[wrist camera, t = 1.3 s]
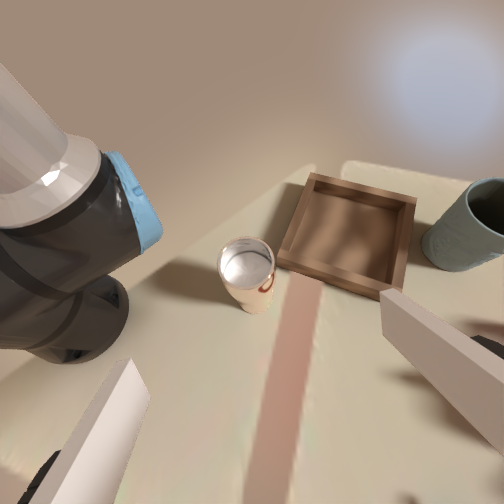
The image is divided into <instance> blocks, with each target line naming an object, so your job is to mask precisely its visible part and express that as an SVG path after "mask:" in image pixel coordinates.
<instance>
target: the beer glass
mask: <svg viewBox="0 0 504 504" xmlns="http://www.w3.org/2000/svg"><path fill="white" fill-rule="evenodd" d="M217 269H218V273H219V275H220V277H221V280H222V283H223V285H224V287H225V288H226V290H227V291H228V293H229V294H230V295H231V296H232V297H233V298H234V299H236V300H237V301H238V303H239V305H240V307H241V308H242V309H243V310H244V311H246V312H248V313H252V314H258V313H261V312H264V311H265V310H266V309H268V308H269V306H270V305H271V303H272V300H273V292H272V290H273V288H274V286H275V282H276V266H275V259H274V254H273V252H272V250H271V248H270V247H269V246H268V245H267V244H266V243H265V242H264V241H262V240H260V239H258V238H255V237H249V236H245V237H239V238H236V239H234V240H232V241H230V242H229V243H227V244H226V245H225V246H224V247H223V249H222V250H221V252H220V254H219V256H218V260H217Z"/></svg>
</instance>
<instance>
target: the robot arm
mask: <svg viewBox="0 0 504 504" xmlns="http://www.w3.org/2000/svg"><path fill="white" fill-rule="evenodd" d="M162 234H163V227H162V224H161V222H160V220H159V218H158V216H157V214H156V212H155V211H154V209H153V207H152V205H151V204H150V202H149V200H148V198H147V196H146V195H145V193H144V192H143V191H142V188H141V187H140V185H139V183H138V182H137V180H136V178H135V176H134V174H133V172H132V171H131V169H130V168H129V166H128V165H127V163H126V161H125V160H124V158H123V157H122V155H121V154H120V153H119V152H117V151H112V152H105V153H104V154H103V153H102V152H101V151H100V150H99V149H98V148H97V146H96V145H95V144H94V143H93V142H92V141H90V140H89V139H87V138H84V137H81V136H76V135H71V134H66V133H64V132H63V131H62V130H61V129H60V128H59V127H58V126H57V125H56V124H55V123H54V121H53V120H52V119H51V118H50V117H49V116H48V115H47V114H46V112H44V110H43V109H42V108H41V107H40V106H39V105H38V104H37V103H36V101H35V100H34V99H33V98H32V97H31V96H30V95H29V94H28V93H27V91H26V90H25V89H24V88H23V87H22V86H21V85H20V84H19V82H17V80H16V79H15V78H14V77H13V76H12V75H11V74H10V72H9V71H8V70H7V69H6V68H5V67H4V66H3V65H2V64H1V62H0V349H20V350H26V351H28V352H30V353H32V354H34V355H36V356H38V357H40V358H42V359H44V360H46V361H48V362H51V363H55V364H79V363H84V362H87V361H89V360H92V359H94V358H96V357H97V356H99V355H100V354H102V353H103V352H104V351H106V350H107V349H108V348H109V347H110V346H111V345H112V344H113V343H114V342H115V340H116V339H117V338H118V336H119V335H120V333H121V331H122V329H123V327H124V325H125V323H126V320H127V316H128V311H129V300H128V295H127V292H126V290H125V288H124V287H123V285H122V284H121V283H120V282H119V281H117V280H116V279H115V278H113V277H111V276H109V275H107V274H109V273H111V272H112V271H114V270H116V269H117V268H119V267H121V266H122V265H124V264H125V263H127V262H129V261H130V260H132V259H134V258H135V257H137V256H138V255H141V254H143V253H144V251H145V250H146V249H148V248H149V247H151V246H152V245H153V244H155V243H156V242H158V241H159V240H160V239H161V237H162ZM379 293H380V306H381V319H382V333H383V336H384V337H385V338H386V339H387V340H388V341H389V342H390V343H391V344H392V345H393V346H394V347H395V348H396V349H397V350H398V351H399V352H400V353H401V354H402V355H403V356H404V357H405V358H406V359H407V360H408V361H409V362H410V363H411V364H412V365H413V366H414V367H415V368H416V369H417V370H418V371H419V372H420V373H421V374H422V375H423V376H424V377H425V378H426V379H427V380H428V381H429V382H430V383H431V384H432V385H433V386H434V387H435V388H436V389H437V390H438V391H439V392H440V393H441V394H442V395H443V396H444V397H445V398H446V399H447V400H448V401H449V402H450V403H451V404H452V405H453V406H454V407H455V408H456V409H457V410H458V411H459V412H460V413H461V414H462V415H463V416H464V417H465V418H466V419H467V420H468V421H469V422H470V423H471V424H472V425H473V426H474V427H475V428H476V429H477V430H478V431H479V432H480V434H481V435H482V436H483V437H484V438H485V439H486V440H487V441H488V442H489V443H490V444H491V445H492V446H493V447H494V448H495V449H496V450H497V451H498V452H499V453H500V454H501V455H502V456H503V457H504V346H503V345H501V344H499V343H498V342H495V341H492V340H490V339H487V338H484V337H482V336H479V335H478V336H474V337H470V338H469V337H468V336H466V335H465V334H463V333H462V332H460V331H459V330H457V329H456V328H454V327H453V326H451V325H450V324H448V323H446V322H445V321H443V320H442V319H440V318H439V317H437V316H436V315H434V314H433V313H431V312H430V311H428V310H427V309H425V308H423V307H422V306H420V305H419V304H417V303H416V302H414V301H413V300H411V299H410V298H408V297H407V296H405V295H404V294H402V293H401V292H399V291H397V290H396V289H394V288H391V289H388V290H384V291H380V292H379ZM150 399H151V397H150V395H149V393H148V391H147V389H146V387H145V385H144V383H143V381H142V379H141V377H140V375H139V373H138V371H137V369H136V367H135V365H134V363H133V361H132V359H131V358H129V359H125V360H121V361H117V362H116V363H115V365H114V366H113V368H112V369H111V371H110V373H109V374H108V376H107V378H106V379H105V381H104V382H103V384H102V386H101V387H100V389H99V390H98V392H97V394H96V395H95V397H94V399H93V400H92V402H91V403H90V405H89V407H88V408H87V410H86V411H85V413H84V415H83V416H82V418H81V420H80V421H79V423H78V424H77V426H76V428H75V429H74V431H73V432H72V434H71V436H70V437H69V439H68V441H67V442H66V444H65V445H64V447H63V449H62V450H59V451H56V452H55V453H54V454H53V455H52V456H51V457H50V458H49V459H48V461H47V462H46V463H45V464H44V465H43V466H42V467H41V468H40V470H39V471H38V473H37V474H36V476H35V477H34V479H33V480H32V482H31V483H30V485H29V486H28V488H27V492H24V494H23V496H22V497H21V499H20V500H19V502H18V503H17V504H113V503H114V500H115V497H116V494H117V492H118V489H119V486H120V483H121V480H122V478H123V475H124V472H125V469H126V466H127V464H128V461H129V458H130V455H131V452H132V450H133V447H134V444H135V441H136V438H137V436H138V433H139V430H140V427H141V424H142V422H143V419H144V416H145V413H146V410H147V408H148V405H149V402H150Z"/></svg>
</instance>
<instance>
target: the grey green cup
mask: <svg viewBox="0 0 504 504" xmlns="http://www.w3.org/2000/svg"><path fill="white" fill-rule="evenodd" d="M421 248H422V250H423V253H424V255H425V256H426V257H427V259H428V260H429V261H431V263H433V264H434V265H435V266H437V267H439V268H441V269H443V270H446V271H451V272H461V271H466V270H469V269H471V268H474V267H476V266H479V265H481V264H483V263H484V262H487V261H489V260H492V259H494V258H497V257H499V256H501V255H502V254H504V178H495V177H492V178H485V179H481V180H478V181H476V182H474V183H472V184H471V185H470V186H469V187H468V188H467V189H466V190H465V191H464V192H463V193H462V195H461V196H460V197H459V198H458V199H457V200H456V202H455V203H454V204H453V205H452V206H451V207H450V208H449V209H448V210H447V211H446V212H445V213H444V214H443V215H442V216H441V218H440V219H439V220H437V222H436V223H435V224H434V225H433V226H432V227H431V228H430V229H429V230H428V231H427V232H426V233H425V235H424V236H423V238H422V241H421Z"/></svg>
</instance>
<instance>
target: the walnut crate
mask: <svg viewBox="0 0 504 504" xmlns="http://www.w3.org/2000/svg"><path fill="white" fill-rule="evenodd" d="M416 201H417V198H416V197H411V196H407V195H403V194H399V193H395V192H391V191H386V190H382V189H378V188H374V187H370V186H365V185H361V184H357V183H353V182H349V181H345V180H340V179H336V178H332V177H328V176H324V175H319V174H315V173H311V172H310V175H309V177H308V180H307V182H306V185H305V187H304V190H303V192H302V195H301V197H300V200H299V202H298V205H297V207H296V210H295V212H294V215H293V217H292V220H291V222H290V225H289V227H288V230H287V232H286V235H285V237H284V239H283V242H282V244H281V247H280V249H279V252H278V254H277V264H276V266H279V267H282V268H285V269H288V270H291V271H294V272H297V273H300V274H303V275H305V276H308V277H311V278H314V279H317V280H320V281H323V282H325V283H328V284H331V285H334V286H337V287H340V288H343V289H346V290H349V291H351V292H354V293H357V294H360V295H363V296H366V297H369V298H372V299H375V300H377V301H380V293H379V292H380V291H384V290H388V289H391V288H394V289H396V290H397V291H399V292H401V293H402V288H403V282H404V276H405V270H406V263H407V257H408V251H409V245H410V239H411V232H412V226H413V220H414V214H415V207H416Z"/></svg>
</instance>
